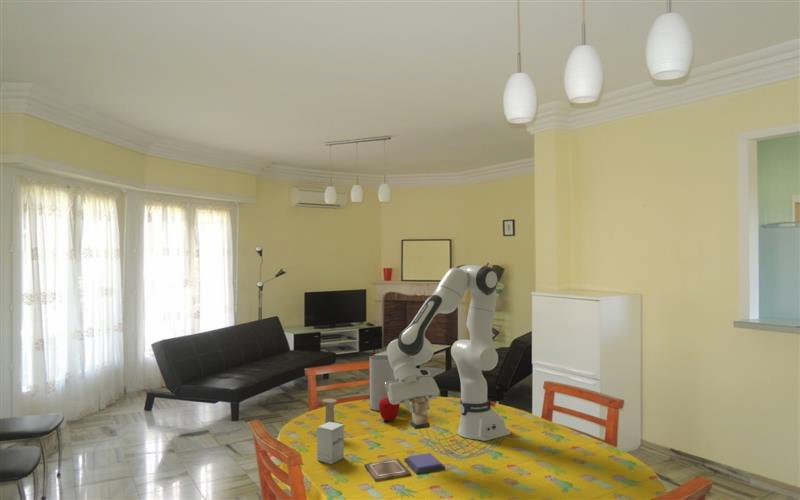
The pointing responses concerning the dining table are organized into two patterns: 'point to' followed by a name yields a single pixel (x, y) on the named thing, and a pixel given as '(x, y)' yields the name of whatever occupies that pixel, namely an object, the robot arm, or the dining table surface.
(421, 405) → the wooden stamp
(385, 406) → the apple
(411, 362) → the robot arm
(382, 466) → the marked board
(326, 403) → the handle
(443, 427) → the dining table surface
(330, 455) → the supplement box
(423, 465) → the ink pad
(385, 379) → the cylinder vase
